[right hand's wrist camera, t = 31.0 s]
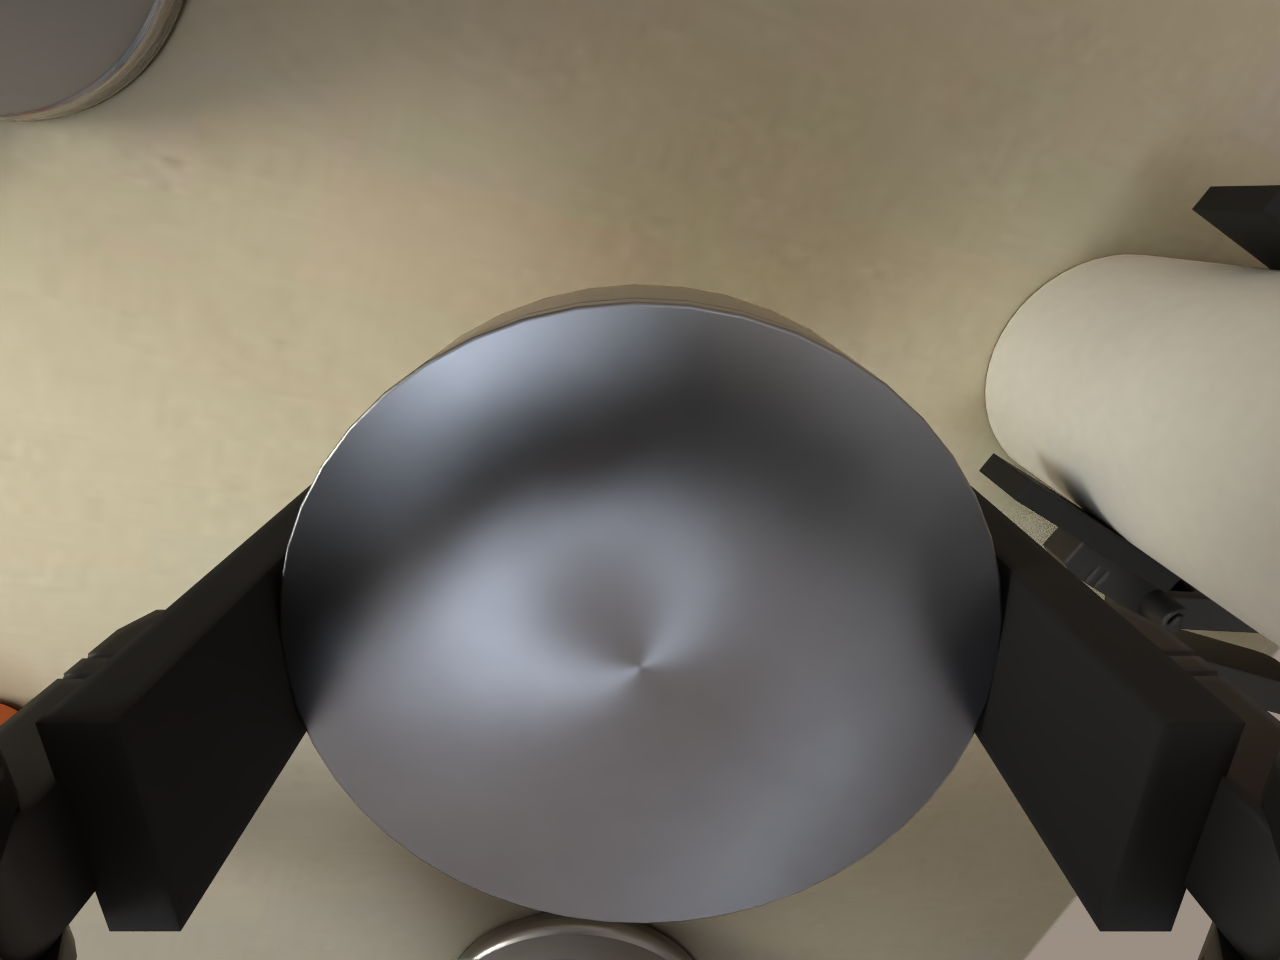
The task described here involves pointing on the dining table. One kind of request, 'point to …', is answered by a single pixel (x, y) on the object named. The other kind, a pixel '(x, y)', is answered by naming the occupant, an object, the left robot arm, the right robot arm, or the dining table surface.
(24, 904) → the right robot arm
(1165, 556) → the jar
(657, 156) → the dining table surface
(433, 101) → the dining table surface
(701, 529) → the lid
